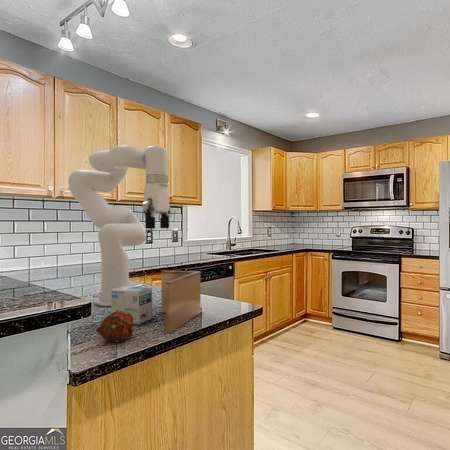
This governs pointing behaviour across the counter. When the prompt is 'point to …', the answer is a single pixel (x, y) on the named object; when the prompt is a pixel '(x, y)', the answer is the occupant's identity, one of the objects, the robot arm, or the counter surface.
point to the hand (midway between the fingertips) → (157, 228)
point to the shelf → (180, 297)
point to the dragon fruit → (116, 326)
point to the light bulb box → (133, 302)
